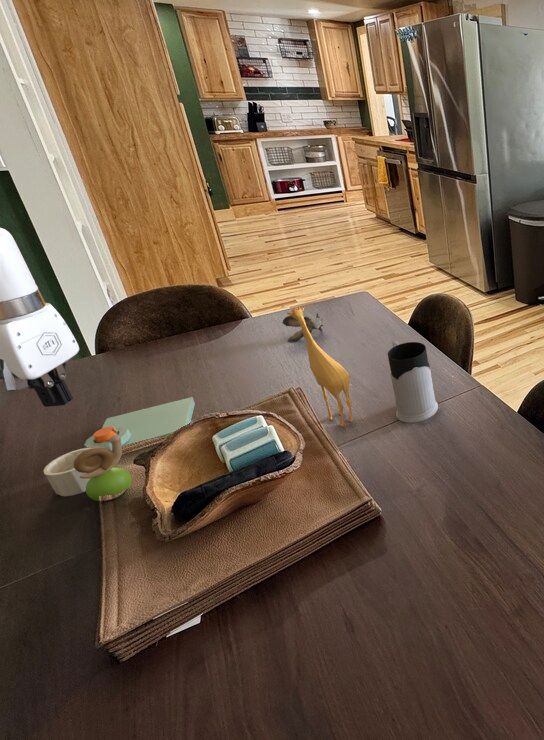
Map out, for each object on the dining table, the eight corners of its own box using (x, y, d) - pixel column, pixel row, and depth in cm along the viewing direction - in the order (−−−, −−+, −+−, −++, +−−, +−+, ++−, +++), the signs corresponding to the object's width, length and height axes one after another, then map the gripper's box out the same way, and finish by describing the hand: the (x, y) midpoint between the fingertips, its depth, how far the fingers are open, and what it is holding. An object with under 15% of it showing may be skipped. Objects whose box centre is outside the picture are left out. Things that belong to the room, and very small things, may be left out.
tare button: (94, 445, 89) (90, 438, 88) (98, 436, 91) (95, 429, 90) (115, 439, 90) (112, 433, 90) (119, 430, 92) (116, 424, 92)
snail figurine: (149, 488, 83) (122, 433, 79) (100, 513, 78) (68, 457, 73) (136, 476, 86) (110, 422, 81) (88, 500, 81) (57, 444, 76)
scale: (88, 466, 88) (80, 451, 87) (107, 426, 98) (100, 412, 97) (187, 437, 95) (181, 423, 94) (195, 403, 106) (189, 390, 104)
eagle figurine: (315, 321, 141) (280, 326, 134) (319, 306, 137) (283, 310, 130) (323, 341, 138) (287, 347, 131) (327, 326, 134) (291, 332, 127)
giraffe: (305, 408, 104) (275, 305, 95) (325, 398, 108) (298, 298, 98) (346, 435, 96) (318, 326, 86) (366, 424, 99) (341, 317, 90)
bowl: (50, 503, 80) (37, 480, 78) (63, 478, 85) (51, 456, 83) (103, 486, 83) (92, 465, 81) (113, 464, 89) (102, 442, 87)
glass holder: (404, 428, 98) (392, 366, 92) (383, 396, 108) (371, 339, 103) (444, 411, 103) (435, 352, 98) (420, 383, 113) (411, 327, 108)
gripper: (-11, 326, 68) (46, 428, 75) (75, 287, 82) (116, 377, 89) (-75, 330, 67) (-11, 434, 74) (24, 289, 80) (70, 381, 87)
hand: (59, 403), depth 81 cm, fingers closed
